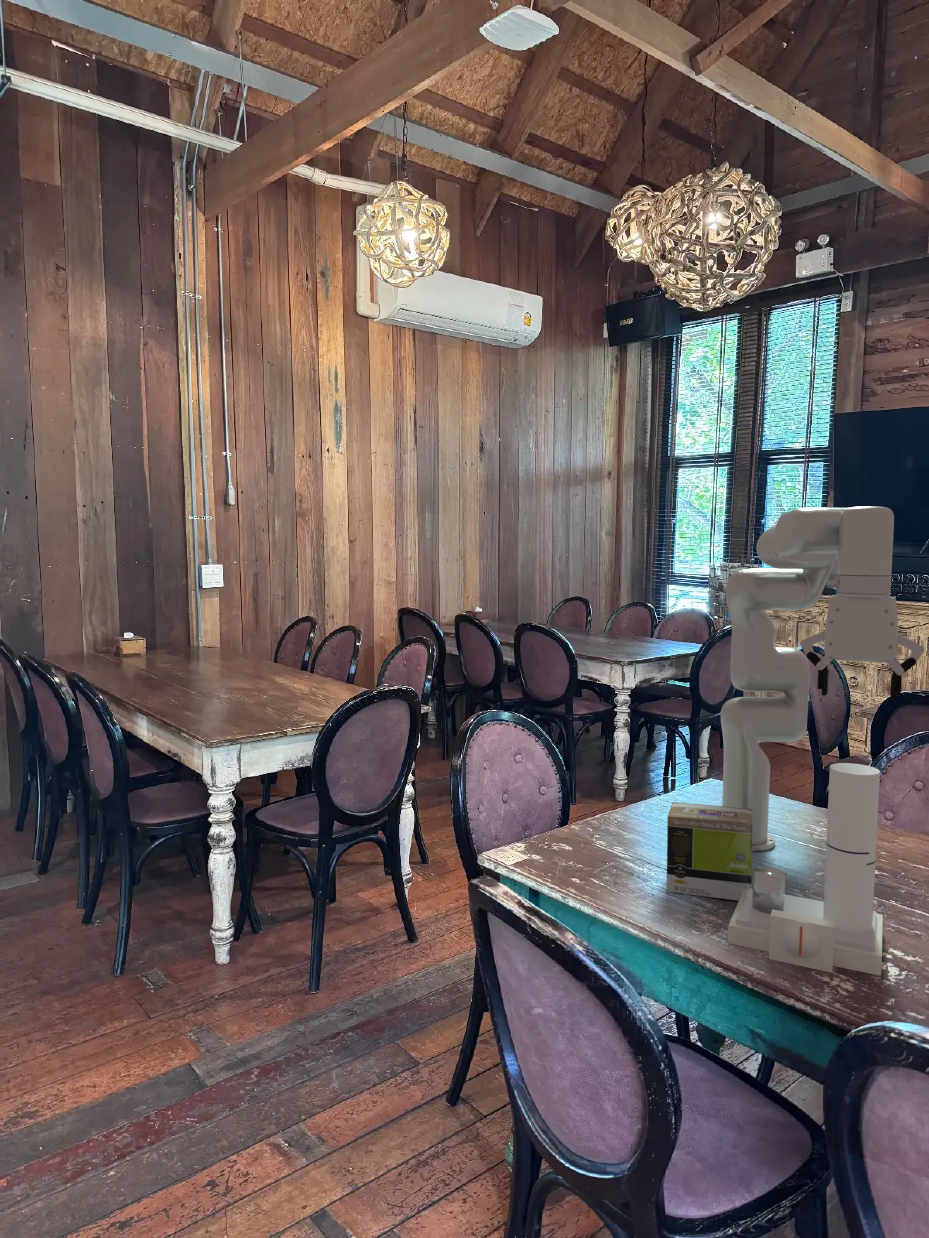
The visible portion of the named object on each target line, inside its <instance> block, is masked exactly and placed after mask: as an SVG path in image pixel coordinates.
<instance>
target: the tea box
mask: <svg viewBox="0 0 929 1238" xmlns="http://www.w3.org/2000/svg"><path fill="white" fill-rule="evenodd" d="M667 814H668V815H667V822H666V823H667V824H666V825H667V826H666V828H667V831H666V832H667V833H666V835H667V836H666V838H667V839H666V840H667V841H666V892H668V893H674V894H675V893H676V894H681V893H682V895H689V896H690V895H691V896H699V897H707V898H712V899H713V898H714V899H722V900H723V899H724V900H730V901H738V902H739V900H740V897H741V895H742V893H743V891H744V889H746V890H749V888H753V851H752V840H753V826H752V809H748V808H736V807H725V806H722V805H711V804H699V803H688V802H678V801H677V802H676V801H672V802H671V805H670V808H669V812H668V813H667Z"/></svg>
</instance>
